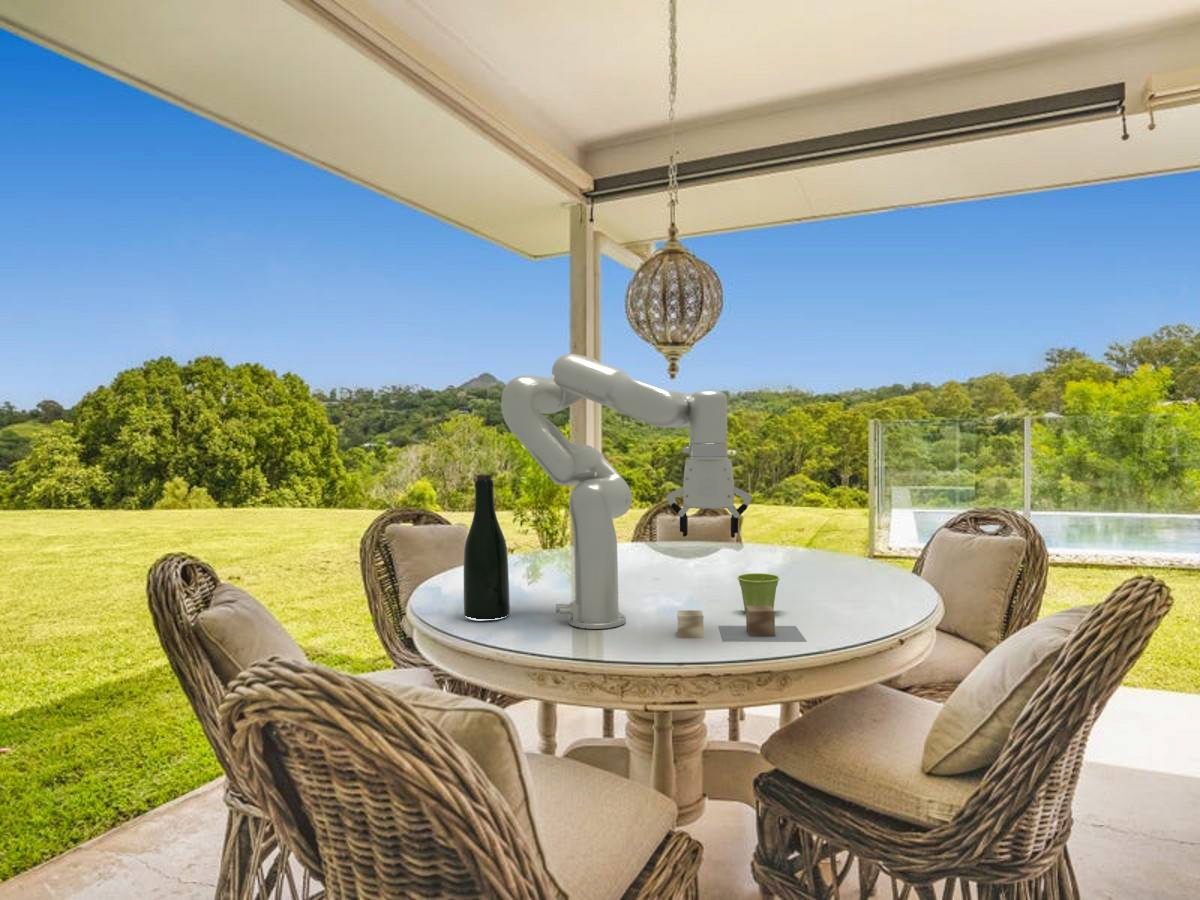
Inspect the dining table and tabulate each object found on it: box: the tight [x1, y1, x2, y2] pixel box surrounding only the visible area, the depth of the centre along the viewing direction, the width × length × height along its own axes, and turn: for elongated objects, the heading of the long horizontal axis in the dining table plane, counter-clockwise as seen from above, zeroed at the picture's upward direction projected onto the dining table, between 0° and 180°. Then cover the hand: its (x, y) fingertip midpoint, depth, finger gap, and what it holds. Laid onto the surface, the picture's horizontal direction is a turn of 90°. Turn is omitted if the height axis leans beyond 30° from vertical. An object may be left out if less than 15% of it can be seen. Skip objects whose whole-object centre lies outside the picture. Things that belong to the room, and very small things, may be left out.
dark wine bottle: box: [463, 473, 511, 619], centre depth 166 cm, size 10×10×33 cm
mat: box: [718, 625, 808, 643], centre depth 145 cm, size 16×12×1 cm
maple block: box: [676, 609, 705, 639], centre depth 145 cm, size 5×5×5 cm
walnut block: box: [745, 606, 776, 637], centre depth 145 cm, size 5×5×5 cm
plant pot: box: [736, 572, 781, 614], centre depth 162 cm, size 9×9×9 cm
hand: (708, 536), depth 147 cm, fingers open, 9 cm apart
